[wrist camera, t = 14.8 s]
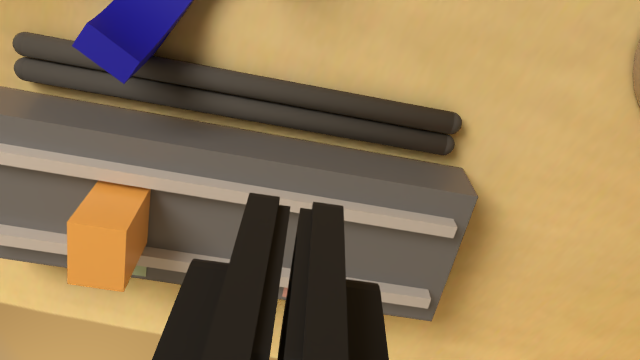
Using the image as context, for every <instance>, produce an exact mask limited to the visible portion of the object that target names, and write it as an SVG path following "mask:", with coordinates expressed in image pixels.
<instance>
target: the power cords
mask: <svg viewBox="0 0 640 360" xmlns="http://www.w3.org/2000/svg"><path fill="white" fill-rule="evenodd" d="M74 42H75V41H71V40H66V39H60V38H55V37H50V36H44V35H39V34H34V33H28V32H21V33H19V34H17V35H16V36H15V37H14V39H13V47H14V49H15V51H16V52H17V53H18V54H20V55H22V56H26V57H23V58H20V59H18V60H17V61H16V63H15V65H14V71H15V73H16V75H17V76H18V77H19V78H20V79H22V80H25V81H30V82H36V83H41V84H47V85H53V86H58V87H64V88H69V89H75V90H80V91H86V92H92V93H97V94H103V95H108V96H114V97H120V98H125V99H131V100H136V101H142V102H148V103H153V104H159V105H164V106H170V107H176V108H181V109H187V110H192V111H198V112H203V113H209V114H215V115H220V116H226V117H231V118H237V119H243V120H248V121H254V122H259V123H265V124H271V125H276V126H282V127H287V128H293V129H298V130H304V131H310V132H315V133H321V134H326V135H332V136H338V137H343V138H349V139H354V140H360V141H366V142H371V143H377V144H382V145H388V146H393V147H399V148H405V149H410V150H416V151H421V152H427V153H433V154H438V155H447V154H449V153H451V152H452V150H453V149H454V145H455V143H454V140H453V138H452V137H451V136H450V135H448V134H454V133H456V132H457V131H459V129H460V128H461V125H462V121H461V118H460V116H459V115H458V114H456V113H454V112H449V111H444V110H439V109H433V108H428V107H423V106H417V105H412V104H407V103H401V102H396V101H391V100H385V99H380V98H375V97H369V96H364V95H359V94H353V93H348V92H343V91H337V90H332V89H327V88H322V87H316V86H311V85H306V84H300V83H295V82H290V81H284V80H279V79H274V78H268V77H263V76H258V75H252V74H247V73H242V72H236V71H231V70H226V69H220V68H215V67H210V66H204V65H199V64H194V63H188V62H183V61H178V60H172V59H167V58H162V57H156V56H151V58H150V59H149V60H148V61H147V62H146V63H145V64H144V65H143V66H142V67H141V68H140V69H139V70H138V71H137V72H136V73H135V74H134V75H133V76H135V77H133V76H132V77H131V78H130V79H129V80H128V81H127V82H126V83H125V84H123V83H122V82H120V81H119V80H118V79H116V78H115V77H114V76H112V75H111V74H110V73H108V72H106V71H105V70H104V69H103V68H101V67H100V66H99V65H97V64H96V63H95V62H93V61H92V60H90V59H89V58H88V57H86V56H85V55H84V54H82V53H81V52H80V51H78V50H77V49H76V48H74V47H73V46H72V45H73V43H74ZM29 57H31V58H29ZM35 58H37V59H35ZM40 59H42V60H40ZM46 60H47V61H46ZM51 61H53V62H51ZM57 62H58V63H57ZM62 63H64V64H62ZM68 64H69V65H68ZM73 65H75V66H73ZM79 66H80V67H79ZM84 67H86V68H84ZM90 68H91V69H90ZM95 69H97V70H95ZM100 70H102V71H100ZM139 77H140V78H139ZM144 78H146V79H144ZM150 79H151V80H150ZM155 80H157V81H155ZM160 81H162V82H160ZM166 82H168V83H166ZM171 83H173V84H171ZM177 84H178V85H177ZM182 85H184V86H182ZM188 86H189V87H188ZM193 87H195V88H193ZM199 88H200V89H199ZM204 89H206V90H204ZM210 90H211V91H210ZM215 91H217V92H215ZM221 92H222V93H221ZM226 93H228V94H226ZM231 94H233V95H231ZM237 95H238V96H237ZM242 96H244V97H242ZM248 97H249V98H248ZM253 98H255V99H253ZM259 99H260V100H259ZM264 100H266V101H264ZM270 101H271V102H270ZM275 102H277V103H275ZM281 103H282V104H281ZM286 104H288V105H286ZM291 105H293V106H291ZM297 106H298V107H297ZM302 107H304V108H302ZM308 108H309V109H308ZM313 109H315V110H313ZM319 110H320V111H319ZM324 111H326V112H324ZM330 112H331V113H330ZM335 113H337V114H335ZM341 114H342V115H341ZM346 115H348V116H346ZM352 116H353V117H352ZM357 117H359V118H357ZM362 118H364V119H362ZM368 119H369V120H368ZM373 120H375V121H373ZM379 121H380V122H379ZM384 122H386V123H384ZM390 123H391V124H390ZM395 124H397V125H395ZM401 125H402V126H401ZM406 126H408V127H406ZM412 127H413V128H412ZM417 128H419V129H417ZM423 129H424V130H423ZM428 130H429V131H428ZM433 131H435V132H433ZM439 132H440V133H439ZM444 133H446V134H444Z"/></svg>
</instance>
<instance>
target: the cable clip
mask: <svg viewBox="0 0 640 360" xmlns="http://www.w3.org/2000/svg"><path fill="white" fill-rule="evenodd" d="M193 1H194V0H113V1H112V2H111V3H110V4H109V5H108V6H107V7H106V8H105V9H104V10H103V11H102V12H101V13H100V14H98V15H97V16H96V17H95V18H93V19H92V20H91V21H89V22H87V24H86V25H85V27H84V28H83V30H82V31H81V33H80V34H79V36H78V37H77V39H76V40H75V42H74V43H73V45H72V46H73V47H74V48H76V49H77V50H78V51H80V52H81V53H82V54H84V55H85V56H86V57H88V58H89V59H90V60H92V61H93V62H95V63H96V64H97V65H99V66H100V67H101V68H103V69H104V70H105V71H107V72H108V73H110V74H111V75H112V76H114V77H115V78H116V79H118V80H119V81H120V82H122V83H123V84H125V83H126V82H127V81H128V80H129V79H130V78H131V77H132V76H133V75H134V74H135V73H136V72H137V71H138V70H139V69H140V68H141V67H142V66H143V65H144V64H145V63H146V62H147V61H148V60H149V59H150V58H151V56H153V55H154V54H155V52H156V51H157V50H158V48H159V47H160V46H161V44H162V43H163V41H164V40H165V39H166V37H167V36H168V35H169V33H170V32H171V31H172V29H173V28H174V27H175V25H176V24H177V22H178V21H179V20H180V18H181V17H182V16H183V14H184V13H185V12H186V10H187V9H188V8H189V6H190V5H191V3H192V2H193Z"/></svg>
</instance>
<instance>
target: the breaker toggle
mask: <svg viewBox="0 0 640 360" xmlns="http://www.w3.org/2000/svg"><path fill="white" fill-rule="evenodd" d="M150 193H151V189H148V188H142V187H136V186H129V185H123V184H117V183H111V182H105V181H99V180H98V182H97V183H96V184H95V185H94V187H93V188H92V189H91V191H90V192H89V193H88V195H87V196H86V197H85V199H84V200H83V201H82V203H81V204H80V205H79V207H78V208H77V209H76V211H75V212H74V213H73V215H72V216H71V217H70V219H69V220H68V221H67V278H68V284H72V285H79V286H86V287H93V288H100V289H107V290H114V291H121V292H124V290H125V288H126V286H127V284H128V282H129V279H130V277H131V275H132V273H133V271H134V269H135V267H136V265H137V263H138V261H139V259H140V256H141V254H142V252H143V250H144V248H145V246H146V244H147V238H148V223H149V208H150Z"/></svg>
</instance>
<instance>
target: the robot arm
mask: <svg viewBox="0 0 640 360" xmlns="http://www.w3.org/2000/svg"><path fill="white" fill-rule="evenodd" d="M633 80H634V91H635V94H636V97H637V100H638V104H639V107H640V41H639V44H638V47H637V50H636V53H635V61H634V69H633ZM279 201H280V197H278V196H271V195H264V194H257V193H249V196H248V200H247V203H246V206H245V210H244V213H243V217H242V220H241V224H240V227H239V231H238V234H237V238H236V241H235V245H234V248H233V252H232V255H231V259H230V262H229V263H224V262H217V261H209V260H202V259H195V258H194V259H193V260H192V261H191V263H190V265H189V268H188V270H187V273H186V275H185V278H184V280H183V283H182V285H181V288H180V290H179V293H178V295H177V298H176V300H175V303H174V305H173V308H172V311H171V313H170V316H169V318H168V321H167V323H166V326H165V328H164V331H163V333H162V336H161V338H160V341H159V343H158V346H157V349H156V351H155V354H154V356H153V359H152V360H269V357H270V350H271V343H272V336H273V328H274V321H275V314H276V307H277V300H278V293H279V286H280V279H281V272H282V264H283V257H284V250H285V243H286V236H287V229H288V222H289V215H290V207H291V206H285V205H279ZM278 360H389V357H388V349H387V341H386V333H385V324H384V316H383V308H382V299H381V291H380V286H379V285H378V283H371V282H364V281H357V280H349V279H346V266H345V236H344V208H343V206H341V205H334V204H327V203H320V202H313V204H312V209H306V208H300V212H299V219H298V225H297V232H296V238H295V245H294V251H293V258H292V264H291V270H290V277H289V283H288V290H287V296H286V303H285V309H284V316H283V322H282V329H281V336H280V344H279V352H278Z"/></svg>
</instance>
